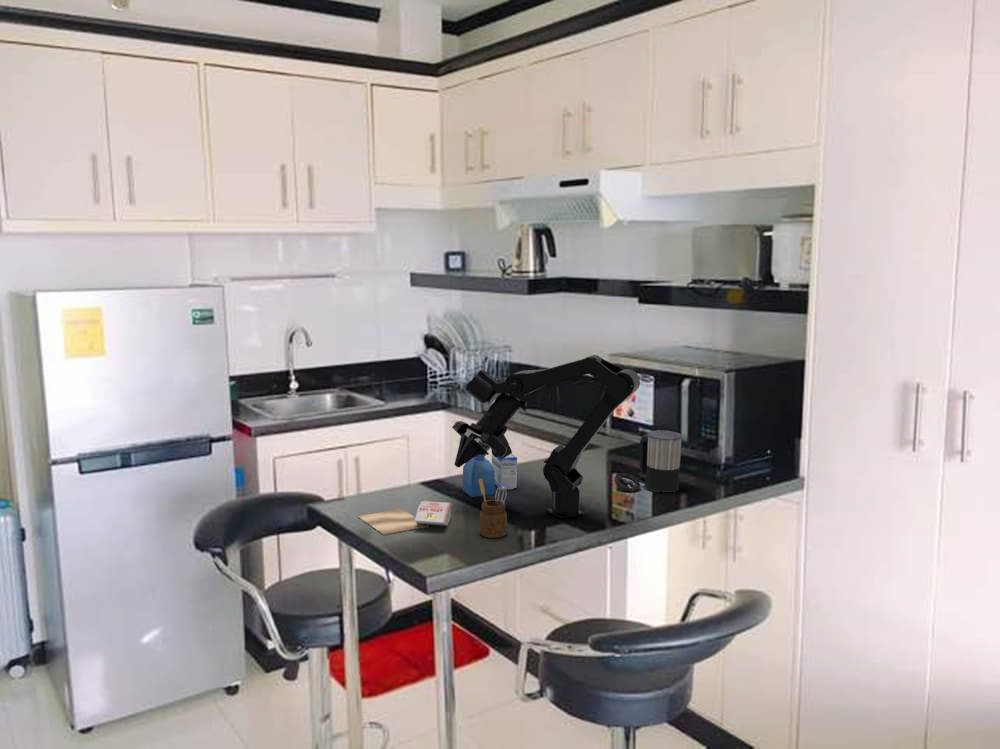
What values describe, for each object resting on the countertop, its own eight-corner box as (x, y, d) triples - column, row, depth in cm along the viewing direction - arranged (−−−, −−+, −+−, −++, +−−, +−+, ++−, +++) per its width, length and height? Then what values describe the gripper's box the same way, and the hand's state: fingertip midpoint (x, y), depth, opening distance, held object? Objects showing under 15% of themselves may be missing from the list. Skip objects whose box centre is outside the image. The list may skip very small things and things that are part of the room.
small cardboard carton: (450, 518, 189) (444, 531, 179) (421, 516, 190) (414, 529, 180) (451, 502, 189) (445, 515, 179) (422, 500, 189) (414, 513, 179)
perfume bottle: (471, 497, 206) (472, 450, 204) (462, 490, 212) (463, 445, 210) (494, 494, 208) (495, 448, 207) (484, 487, 214) (485, 443, 212)
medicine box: (490, 482, 219) (491, 450, 218) (506, 480, 221) (506, 449, 220) (501, 490, 212) (501, 457, 211) (517, 489, 214) (517, 456, 212)
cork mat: (428, 527, 183) (428, 525, 183) (383, 535, 177) (383, 534, 177) (401, 509, 194) (401, 508, 194) (358, 517, 189) (358, 516, 189)
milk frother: (687, 489, 216) (690, 434, 214) (651, 501, 205) (654, 443, 203) (643, 478, 226) (645, 425, 224) (607, 488, 215) (609, 433, 213)
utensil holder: (501, 540, 175) (502, 485, 174) (474, 536, 178) (474, 482, 176) (510, 531, 181) (511, 479, 179) (484, 527, 183) (485, 475, 181)
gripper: (538, 444, 191) (496, 496, 187) (500, 429, 207) (460, 477, 204) (508, 414, 186) (465, 467, 182) (472, 401, 202) (431, 449, 199)
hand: (456, 466), depth 192 cm, fingers closed
